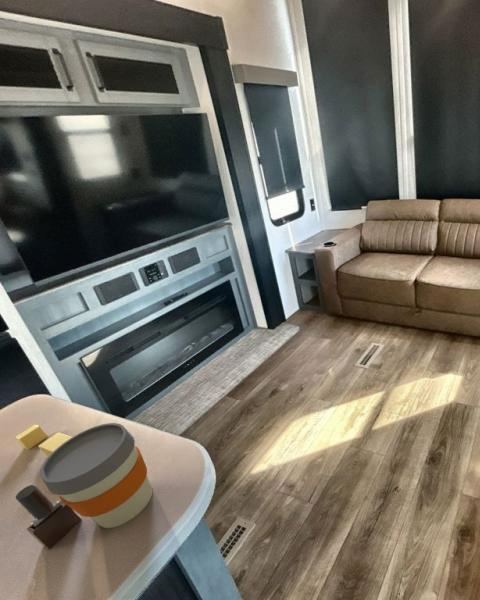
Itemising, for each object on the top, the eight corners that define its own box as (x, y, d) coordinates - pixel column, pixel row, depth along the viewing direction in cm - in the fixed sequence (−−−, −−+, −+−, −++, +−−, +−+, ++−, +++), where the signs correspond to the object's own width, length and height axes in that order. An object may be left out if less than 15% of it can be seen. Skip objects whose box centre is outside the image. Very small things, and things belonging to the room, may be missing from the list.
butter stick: (84, 449, 83) (76, 438, 81) (65, 464, 79) (56, 453, 78) (66, 442, 85) (58, 432, 84) (46, 456, 82) (37, 445, 80)
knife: (56, 546, 63) (15, 505, 58) (47, 541, 64) (6, 500, 59) (80, 523, 66) (44, 483, 61) (72, 519, 67) (35, 479, 62)
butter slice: (48, 436, 88) (39, 426, 86) (28, 449, 85) (19, 439, 83) (43, 434, 89) (34, 424, 87) (23, 447, 85) (14, 437, 84)
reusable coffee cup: (177, 482, 72) (143, 428, 65) (116, 548, 62) (68, 492, 55) (134, 468, 76) (98, 416, 69) (70, 527, 66) (20, 473, 59)
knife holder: (49, 549, 63) (32, 532, 60) (42, 545, 63) (25, 529, 61) (81, 520, 67) (67, 503, 65) (75, 516, 68) (60, 500, 65)
